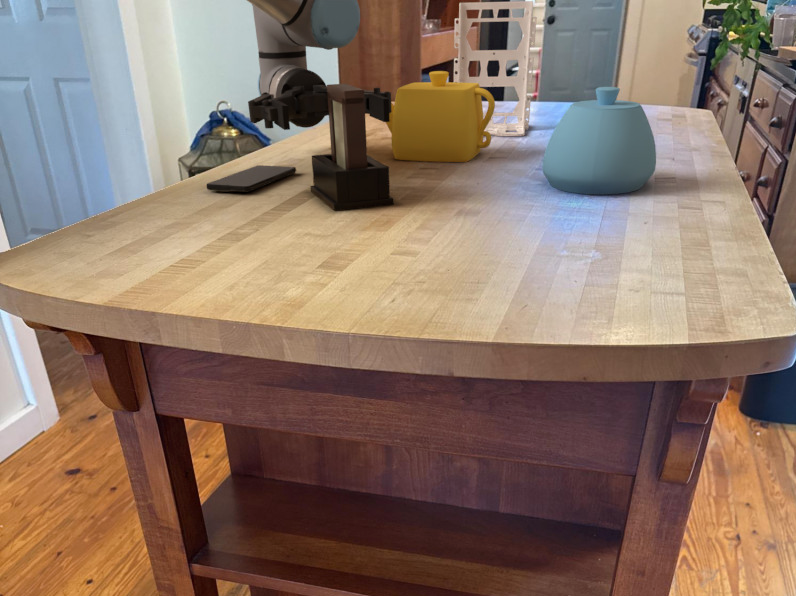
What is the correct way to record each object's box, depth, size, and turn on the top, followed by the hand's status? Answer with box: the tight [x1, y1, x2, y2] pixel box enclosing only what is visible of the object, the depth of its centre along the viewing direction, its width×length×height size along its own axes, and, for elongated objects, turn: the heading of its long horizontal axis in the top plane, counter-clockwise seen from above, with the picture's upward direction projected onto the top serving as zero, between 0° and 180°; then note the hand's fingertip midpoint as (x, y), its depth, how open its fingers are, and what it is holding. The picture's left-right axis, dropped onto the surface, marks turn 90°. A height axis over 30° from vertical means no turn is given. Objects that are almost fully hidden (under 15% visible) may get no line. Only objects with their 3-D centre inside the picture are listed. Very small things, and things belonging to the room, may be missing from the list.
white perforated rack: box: [453, 0, 538, 137], centre depth 136 cm, size 14×14×20 cm
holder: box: [310, 153, 395, 212], centre depth 98 cm, size 12×8×4 cm, turn 20°
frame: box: [326, 83, 368, 170], centre depth 96 cm, size 8×2×12 cm, turn 20°
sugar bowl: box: [541, 86, 657, 195], centre depth 99 cm, size 15×15×12 cm
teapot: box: [382, 70, 496, 163], centre depth 120 cm, size 20×12×12 cm, turn 73°
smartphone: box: [206, 164, 297, 193], centre depth 108 cm, size 7×1×15 cm
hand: (337, 114), depth 97 cm, fingers open, 13 cm apart
